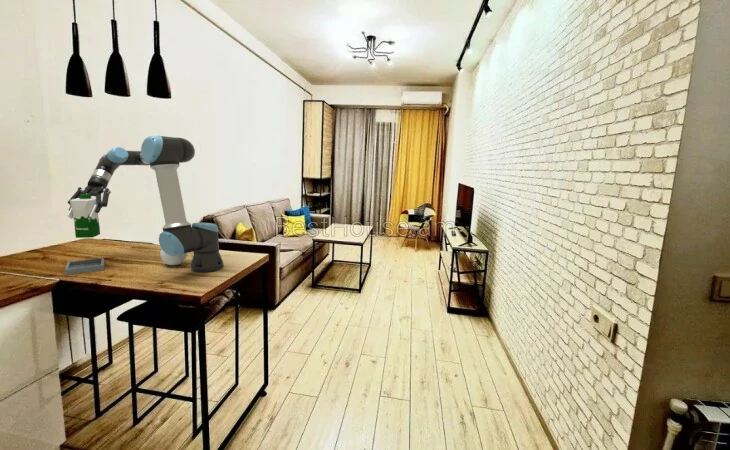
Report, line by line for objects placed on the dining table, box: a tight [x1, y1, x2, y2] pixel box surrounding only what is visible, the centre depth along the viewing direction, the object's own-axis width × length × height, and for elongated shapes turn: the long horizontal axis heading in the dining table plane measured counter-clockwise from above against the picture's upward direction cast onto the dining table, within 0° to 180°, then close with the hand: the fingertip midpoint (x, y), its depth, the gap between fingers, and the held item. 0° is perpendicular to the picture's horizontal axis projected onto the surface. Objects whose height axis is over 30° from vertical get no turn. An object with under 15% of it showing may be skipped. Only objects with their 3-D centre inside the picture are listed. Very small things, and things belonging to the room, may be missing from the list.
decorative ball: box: [159, 248, 188, 266], centre depth 173 cm, size 12×12×12 cm
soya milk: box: [69, 193, 101, 239], centre depth 160 cm, size 9×9×20 cm
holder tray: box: [64, 257, 105, 276], centre depth 164 cm, size 14×14×2 cm
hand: (80, 217), depth 157 cm, fingers closed on soya milk, 9 cm apart
